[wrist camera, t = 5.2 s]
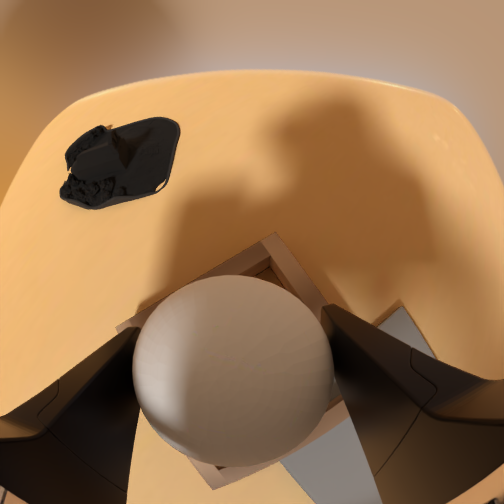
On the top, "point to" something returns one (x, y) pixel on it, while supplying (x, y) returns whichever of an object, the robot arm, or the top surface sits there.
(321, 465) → the coaster
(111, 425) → the robot arm
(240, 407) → the light bulb
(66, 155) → the black irregular lumpy piece
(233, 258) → the holder frame
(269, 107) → the top surface
